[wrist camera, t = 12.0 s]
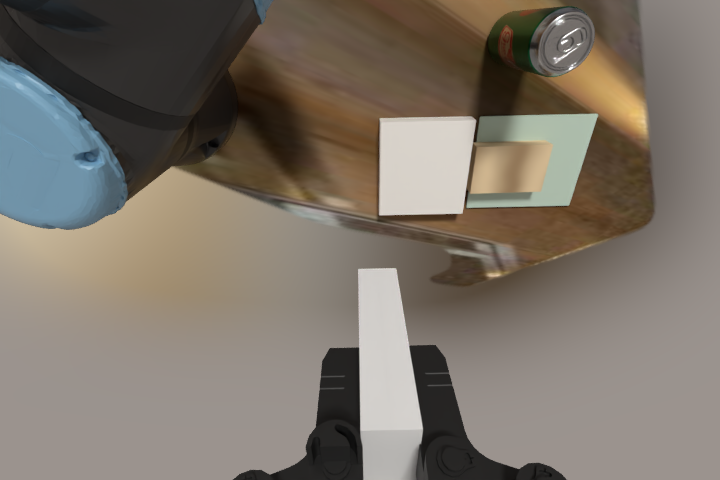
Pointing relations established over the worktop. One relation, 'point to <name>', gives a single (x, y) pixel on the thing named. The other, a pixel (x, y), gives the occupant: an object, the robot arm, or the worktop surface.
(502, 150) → the tan flat block
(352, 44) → the worktop surface
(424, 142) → the white flat square block
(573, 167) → the mat
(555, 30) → the soda can
